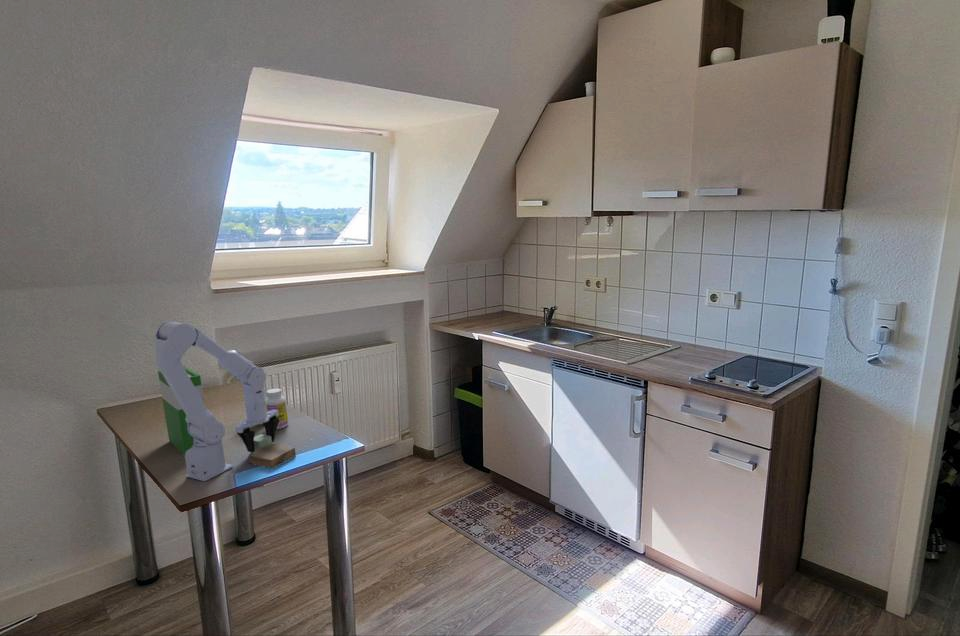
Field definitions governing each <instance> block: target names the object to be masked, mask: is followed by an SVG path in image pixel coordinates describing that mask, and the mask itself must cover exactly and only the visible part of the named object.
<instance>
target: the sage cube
mask: <svg viewBox="0 0 960 636" xmlns="http://www.w3.org/2000/svg"><path fill="white" fill-rule="evenodd" d="M271 444H273V442H272V439H271V436H268V435H266V434H261V433H260V434H258V435H256V436H254V452H250V454H251V453H255V452H257V451H259V450H261V449H263V448H265V447H267V446H269V445H271Z"/></svg>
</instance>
